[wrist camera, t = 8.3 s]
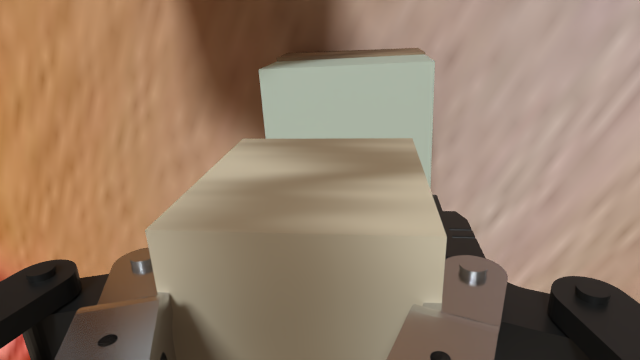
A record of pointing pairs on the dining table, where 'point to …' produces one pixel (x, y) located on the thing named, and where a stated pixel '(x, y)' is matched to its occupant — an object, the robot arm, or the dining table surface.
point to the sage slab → (351, 100)
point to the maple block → (300, 251)
